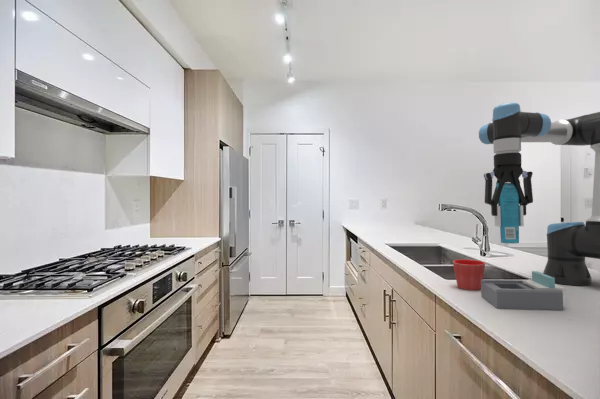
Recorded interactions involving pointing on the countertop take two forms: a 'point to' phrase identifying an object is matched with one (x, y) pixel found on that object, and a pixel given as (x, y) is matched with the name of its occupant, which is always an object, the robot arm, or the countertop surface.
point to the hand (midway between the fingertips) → (508, 226)
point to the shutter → (542, 282)
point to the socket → (520, 295)
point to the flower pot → (469, 273)
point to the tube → (509, 213)
